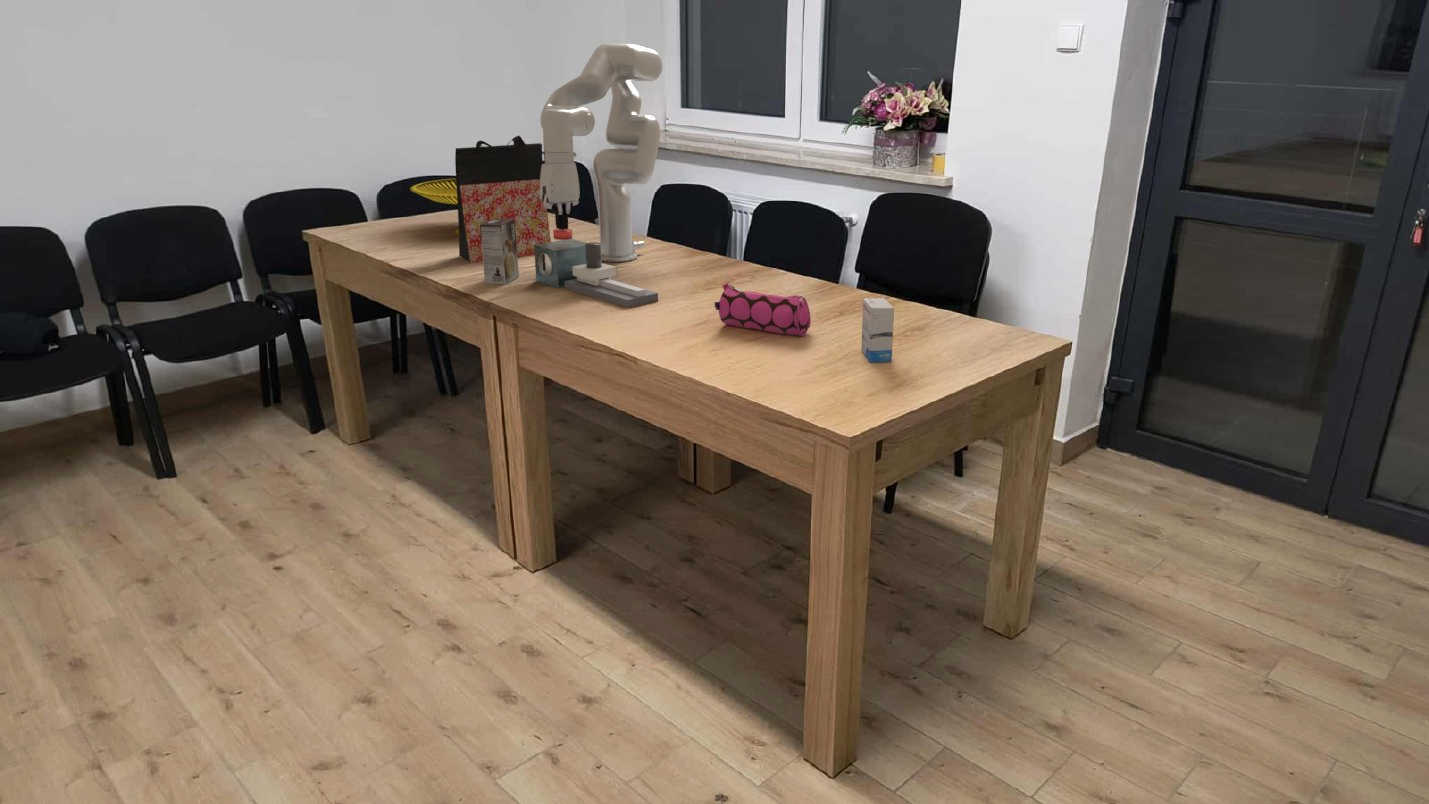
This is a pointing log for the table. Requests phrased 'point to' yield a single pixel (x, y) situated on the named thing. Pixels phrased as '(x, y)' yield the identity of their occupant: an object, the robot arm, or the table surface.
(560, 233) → the button
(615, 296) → the rail bed
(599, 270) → the carriage
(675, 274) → the table surface
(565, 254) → the cabinet
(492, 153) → the gift bag
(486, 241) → the coffee box
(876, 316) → the ink box
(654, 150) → the robot arm
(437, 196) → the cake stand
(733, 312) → the pencil case
